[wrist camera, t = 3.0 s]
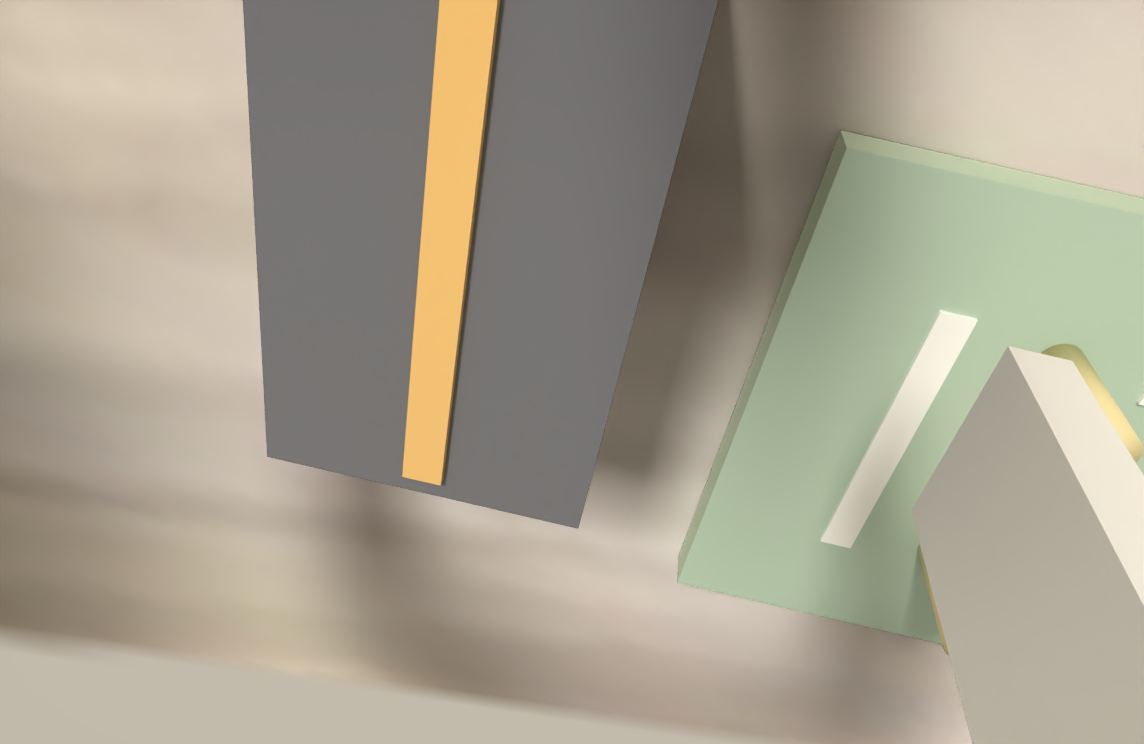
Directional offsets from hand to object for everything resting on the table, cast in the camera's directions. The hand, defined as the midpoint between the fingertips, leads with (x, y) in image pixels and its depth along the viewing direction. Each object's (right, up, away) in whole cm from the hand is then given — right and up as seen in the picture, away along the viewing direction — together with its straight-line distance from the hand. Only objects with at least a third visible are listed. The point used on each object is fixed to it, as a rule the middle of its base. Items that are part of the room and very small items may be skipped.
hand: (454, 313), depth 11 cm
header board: (+12, -2, +10) cm, 15 cm away
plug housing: (+1, +5, +7) cm, 8 cm away
